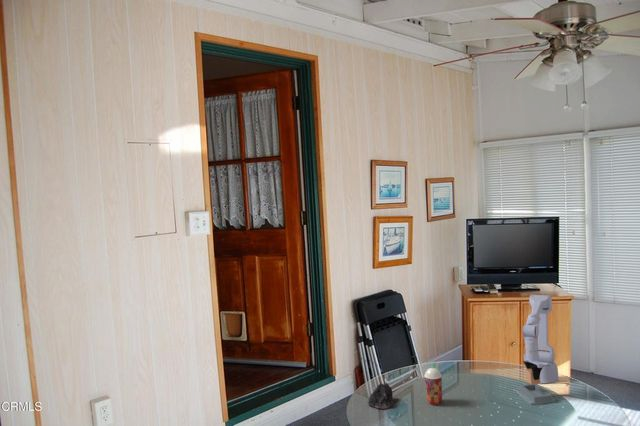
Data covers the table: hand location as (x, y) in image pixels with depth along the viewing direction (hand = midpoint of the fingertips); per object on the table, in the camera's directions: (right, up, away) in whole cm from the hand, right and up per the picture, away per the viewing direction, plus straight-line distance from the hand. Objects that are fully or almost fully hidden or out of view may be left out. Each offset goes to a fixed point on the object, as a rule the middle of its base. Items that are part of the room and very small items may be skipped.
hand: (533, 377), depth 247 cm
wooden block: (0, -2, 0) cm, 2 cm away
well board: (+1, -9, 0) cm, 9 cm away
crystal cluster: (-72, -16, +9) cm, 74 cm away
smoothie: (-46, -14, +4) cm, 48 cm away
